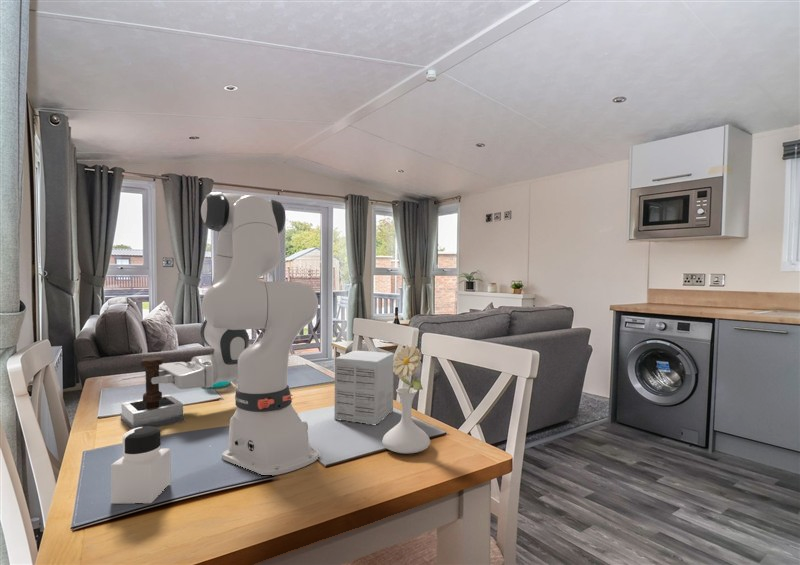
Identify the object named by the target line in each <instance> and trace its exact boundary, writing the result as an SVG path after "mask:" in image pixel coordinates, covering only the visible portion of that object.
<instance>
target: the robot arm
mask: <svg viewBox="0 0 800 565" xmlns="http://www.w3.org/2000/svg"><path fill="white" fill-rule="evenodd" d="M200 215H201V219H202V221H203V224H204V226H205V227H206V228H207V229H209V230H211V231H215V232H218V237H217V242H216V249H215V261H214V262H215V263H214V264H215V265H214V273H213V279H212V282H211V285H210V287H209V288H208V289H207V290H206V291H205V293H204V295H203V298H202V301H201V311H202V314H203V318H204V321H203V323H202V324H201V328H200V331H199V332H200V338H201V340H202V342H203V343H204V344H205V345H207V346H209V347H211V348H212V349H214V350H213V353H211V354H207V355H206V354H205V355H197V356H192V358H191V361H187V362H185V361H175V362H166V363H165V362H163V364H162V365H159V376H154V377H151V383H152V384H159V385H160V384H171V385H172V386H175V387H176V388H177V389H181V390H182V389H183V390H187V389H195V388H196V389H197V388H205V389H211V388H210V387H213V384H215V383H217V382H220V381H224V382H228V381H231V382H233V381H237V388H236V390H235V394H234V395H235V396H234V399H235V400H234V401H235V406H236V409H235V412H234V414H233V415H232V416H231V418H230V419H229V425H228V426H229V429H228V443H227V449H226V450H224V451H223V452H222V454H221V456H222V457H221V459H222V460H223V461H225V462H228V463H231V464H233V465H235V464H236V465H235V466H237V465H238V466H237V467H240V466H241V467H240V468H242V467H243V469H245V468H246V469H245V470H247V469H249V470H252V471H255V472H257V473H259V474H261V475H272V476H277V475H281V474H282V475H283V474H286V473H289V472H293V471H296V470H298V469H301V468H304V467H306V466H308V465H310V464H313V463H314V462H316V461H317V460H318V459H319V458H320V457H319V456H321V454H320V452H319V451H318V449H316V448H315V447H314V446H313V445H312V444H311V443H309V432H308V431H309V430H308V429H309V425H308V421H306V420H305V421H302V419H301V417H300V416H299V414H298V412H297V411H296V410H295V409H294V408H295V407H293V404H292V402H293V401H292V400H293V394H292V393H291V390H290V387H289V385H288V370H289V367H288V366H289V359H290V358H289V356H290V352H291V349H292V346H293V343H294V342H295V340H296V338H297V337H298V335H299V334H300V333H301V331H302V330H303V329H305V327H306V326H308V325H309V324H310V323H311V322H312V321H313V320H314V319H315V317H316V315H317V313H318V310H319V298H318V295H317V292H316V291H315V290H314V288H313V287H312V286H311V285H310V284H306V283H301V282H296V281H290V280H289V281H288V280H284V281H283V280H282V281H281V280H280V281H278V280H277V281H275V280H274V281H266V280H265V281H263V280H260V278H261V277H264V276H266V275H268V274H270V273H271V272H273V271H274V270H276V269H277V267H278V266H279V265H280V263H281V260H282V252H281V245H280V243H281V242H280V238H279V235H280V234H281V233H282V232H283V229H284V227H285V224H286V212H285V207H284V205H283V204H282V202H279V201H277V200H274V199H272V198H269V199H267V198H264V197H262V196H261V195H258V194H257V195H256V194H249V195H247V194H245V193H235V192H234V193H231V192H230V193H229V192H228V193H227V192H226V193H223V192H222V191H216V192H210V193H207V194H206V195H205V197H204V200H203V202H202V203H201V207H200ZM255 329H256V330H257V329H258V330H261V329H264V330H265V331H264V334H263V335H262V337H261V338H260V339H259V340H258V341H256V342H254V343H253V344H251V345H250V335H249V333H248V331H247V330H255ZM144 377H145V380H146V374H145V376H144ZM318 457H319V458H318ZM249 470H248V471H249ZM252 471H251V472H252ZM259 474H258V475H259ZM261 475H260V476H261Z"/></svg>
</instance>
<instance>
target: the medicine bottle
mask: <svg viewBox="0 0 800 565" xmlns="http://www.w3.org/2000/svg"><path fill="white" fill-rule="evenodd" d="M161 432H162V431H161V429H160V428H159V427H152V426H144V427H138V428H135V429H130V430H129V431H126V432H124V434H123V435H122V457H120V458H119V459H117V460H115V461H114V462H113V463H111V465H110V491H111V492H110V501H111V504H114V505H115V504H116V505H117V504H119V505H120V504H121V505H122V504H126V505H127V504H129V505H130V504H131V505H132V504H135V503H143V504H152V503H153V502H154V501H155V500H156V499H157V498H158V497H159V496H160V495H161V494H162V493H163V492H164V491H165V490H166V489H167V488H168V487H169V486H170V485H171V482H172V480H171V479H172V478H171V467H172V466H171V457H172V456H171V449H170V448H162V447H161V444H162V443H161V437H162V434H161ZM169 484H170V485H169ZM168 485H169V486H168ZM167 486H168V487H167ZM166 487H167V488H166ZM165 488H166V489H165ZM164 489H165V490H164ZM162 491H163V492H162ZM158 495H159V496H158Z"/></svg>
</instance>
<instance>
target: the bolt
mask: <svg viewBox="0 0 800 565" xmlns="http://www.w3.org/2000/svg"><path fill="white" fill-rule="evenodd" d="M163 363H164V358H163V357H161V356H151V357H146V358H142V359H141V360H140V367H144V370H145V375H146V379H145V392H144V393H143V395H142V399H143V401H144V402H146V409H151V408H157V407H159V400H161V399H162V396H163V393H162V391H160V383H159V384H152V383H151V377H154V376H159V365H162V364H163Z"/></svg>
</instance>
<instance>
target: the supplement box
mask: <svg viewBox="0 0 800 565" xmlns="http://www.w3.org/2000/svg"><path fill="white" fill-rule="evenodd" d="M394 358H395V354H394V353H393V352H380V351H370V350H356V349H355V350H352V351H350V352H347V353H344V354H342V355H340V356H337V357H335V358H334V420H335V419H341V420H347V421H346V422H348V421H353V422H352V423H355V422H360V423H359V424H362V423H367V424H366V425H369V424H378V423H379V422H380V421H381V420H382V419H383V418H384V419H386V418H387V417H388V416H389V415H390V414H392V413H393V411H394V374H395V373H394V372H393V369H394V368H395V367H394V366H393V363H394V360H395V359H394ZM389 413H390V414H389ZM388 414H389V415H388ZM387 415H388V416H387ZM386 416H387V417H386ZM385 417H386V418H385ZM384 419H383V420H384ZM341 420H340V421H341ZM383 420H382V421H383ZM382 421H381V422H382ZM381 422H380V423H381ZM380 423H379V424H380ZM379 424H378V425H379Z"/></svg>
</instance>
